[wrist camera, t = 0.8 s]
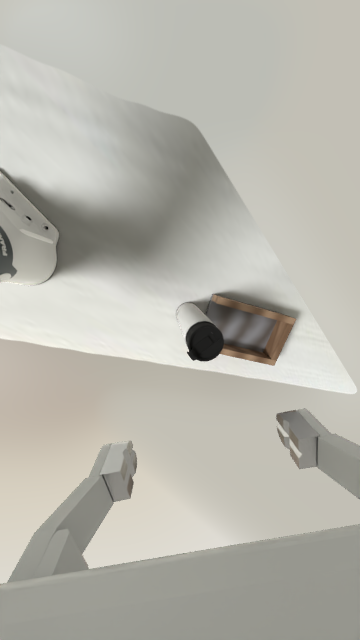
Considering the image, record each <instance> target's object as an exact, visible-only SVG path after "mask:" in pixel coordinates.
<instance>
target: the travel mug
mask: <svg viewBox="0 0 360 640" xmlns="http://www.w3.org/2000/svg"><path fill="white" fill-rule="evenodd" d="M176 317H177V320H178V323H179V325H180V328H181V331H182V334H183V336H184V339H185V342H186V345H187V346H188V349H189V352H187V353H188V355H189V356H190V358H191V359H192V360H193V361H194V360H196V359H197V360H199V361H210V360H212V359H214V358H216V357H217V356H218V355H219V354H220V352H221V351H222V349H223V346H224V338H223V334H222V333H221V331H220V330H219V329H218V328H217V326H216V325H215V324H214V323H213V322H212V321H211V320H210V319H209V318H208V317H207V316H206V315H205V314H204V313H203V312H202V311H201V310H200V309H199V308H198V307H197V306H196V305H195V304H193V303H188V302H187V303H183V304H181V305H180V306H179V307H178V309H177V311H176Z"/></svg>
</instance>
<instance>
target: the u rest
mask: <svg viewBox="0 0 360 640" xmlns="http://www.w3.org/2000/svg"><path fill="white" fill-rule="evenodd" d="M206 316H207V317H208V318H209V319H210V320H211V321H212V322H213V323H214V324H215V325H216V326H217V328H218V329H219V330H220V331H221V333H222V334H223V338H224V346H223V349H222V351H221V352H220V354H223V355H227V356H232V357H236V358H241V359H246V360H250V361H255V362H259V363H264V364H269V365H273V366H274V365H275V363H276V361H277V359H278V357H279V354H280V352H281V350H282V348H283V346H284V344H285V342H286V340H287V338H288V335H289V333H290V331H291V329H292V327H293V325H294V323H295V321H296V319H295V318H292V317H289V316H287V315H284V314H281V313H277V312H274V311H270V310H267V309H264V308H260V307H257V306H253V305H250V304H246V303H243V302H239V301H236V300H232V299H229V298H225V297H222V296H218V295H215V294H212V297H211V300H210V303H209V306H208V309H207V312H206Z"/></svg>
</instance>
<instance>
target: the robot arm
mask: <svg viewBox="0 0 360 640" xmlns="http://www.w3.org/2000/svg"><path fill="white" fill-rule="evenodd" d="M47 226H48V230H46V227H47ZM58 239H59V232H58V230H57V229H56V228H55V227H54V226H53V225H52V224H51V223H50V222H49V221H48V220H47V218H46V217H45V216H44V215H43V214H42V213H41V212H40V211H39V210H38V209H37V208H36V207H35V206H34V205H33V204H32V203H31V202H30V201H29V200H28V199H27V198H26V197H25V196H24V195H23V194H22V193H21V192H20V191H19V190H18V189H17V188H16V187H15V186H14V185H13V184H12V183H11V182H10V181H9V179H8V178H7V177H6V176H5V175H4V174H3V173H2V172H1V171H0V283H1V282H9V283H15V284H19V285H25V286H32V285H37V284H40V283H43V282H44V281H46V280H47V279H48V278H49V277H50V276H51V275H52V274H53V272H54V270H55V267H56V262H57V254H56V245H57V242H58ZM276 417H277V418H276V419H277V421H278V422H279V424H278V425H277V431H278V434H279V437H280V439H281V441H282V443H283V444H284V446H285V447H286V448H288V449H290V455H291V457H292V459H293V460H294V462H295V463H296V465H297V466H298V468H299V469H303V468H310V467H318V468H319V469H320V470H321V471H323V472H324V473H325V474H327V475H328V476H329V477H331V478H332V479H333V480H335V481H336V482H337V483H339V484H340V485H341V486H343V487H344V488H345V489H347V490H348V491H349V492H351V493H352V494H353V495H355V496H356V497H357V498H358V499H360V446H359V445H357V444H355V443H353V442H351V441H349V440H347V439H345V438H343V437H340V436H338V435H337V434H331V433H330V432H329V431H328V430H327V429H326V428H325V427H324V426H323V425H322V424H321V423H320V422H319V421H318V420H317V419H316V418H315V417H314V416H313V415H312V414H311V413H310V412H309V411H308V410H307V409H305V408H304V409H298V410H293V411H288V412H283V413H278V414H277V415H276ZM132 448H133V444H132V441H124V442H117V443H112V444H106V445H103V446H102V448H101V450H100V452H99V454H98V457H97V459H96V461H95V464H94V466H93V469H92V471H91V473H90V475H89V478H85V479H84V480H83V482H82V483H81V484H80V485H79V486H78V487H77V488H76V489H75V490H74V491H73V492H72V493H71V494H70V495H69V497H68V498H67V499H66V500H65V501H64V502H63V503H62V504H61V505H60V506H59V507H58V508H57V510H55V512H54V513H53V514H52V515H51V516H50V517H49V518H48V519H47V520H46V521H45V522H44V523H43V524H42V525H41V526H40V528H39V529H38V530H37V531H36V532H35V533H34V535H33V537H32V538H31V540H30V542H29V544H28V546H27V547H26V549H25V551H24V553H23V555H22V556H21V558H20V560H19V562H18V564H17V566H16V568H15V569H14V571H13V573H12V575H11V577H10V578H9V580H8V582H7V583H3V584H0V640H360V524H358V525H352V526H346V527H340V528H334V529H328V530H322V531H316V532H310V533H304V534H298V535H291V536H286V537H279V538H274V539H267V540H261V541H256V542H250V543H243V544H237V545H231V546H225V547H219V548H214V549H207V550H201V551H195V552H189V553H183V554H177V555H171V556H165V557H159V558H153V559H147V560H141V561H136V562H129V563H123V564H117V565H111V566H105V567H100V568H93V569H89V568H88V564H87V563H86V561H85V559H84V557H83V556H82V553H83V552H84V550H85V548H86V547H87V545H88V544H89V542H90V540H91V539H92V537H93V536H94V534H95V532H96V531H97V529H98V528H99V526H100V524H101V523H102V521H103V520H104V518H105V516H106V515H107V513H108V511H109V510H110V508H111V507H112V505H113V502H116V501H121V500H125V499H130V498H131V493H132V488H133V479H132V477H133V476H134V474H135V473H136V468H137V457H136V453H135V451H133V450H132Z"/></svg>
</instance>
